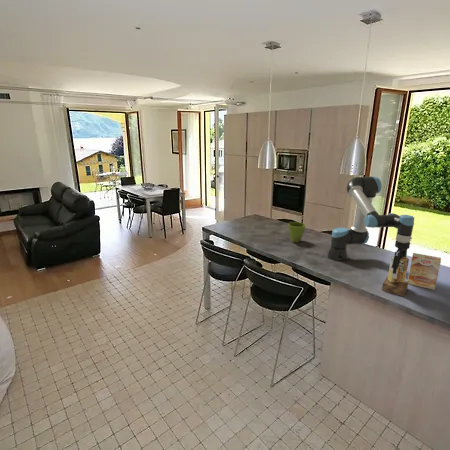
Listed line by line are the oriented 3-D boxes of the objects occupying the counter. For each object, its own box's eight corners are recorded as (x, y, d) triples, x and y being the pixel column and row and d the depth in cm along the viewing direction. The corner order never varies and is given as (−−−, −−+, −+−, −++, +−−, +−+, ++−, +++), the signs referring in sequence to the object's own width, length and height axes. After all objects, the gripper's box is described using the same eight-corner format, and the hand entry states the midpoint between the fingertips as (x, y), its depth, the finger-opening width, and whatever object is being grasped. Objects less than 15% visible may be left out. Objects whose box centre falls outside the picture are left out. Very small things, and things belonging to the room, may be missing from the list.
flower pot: (302, 238, 282) (304, 222, 278) (305, 244, 268) (306, 226, 263) (286, 238, 284) (287, 221, 279) (288, 243, 269) (289, 226, 265)
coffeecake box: (407, 284, 196) (412, 255, 190) (407, 279, 201) (412, 252, 196) (434, 290, 188) (441, 261, 182) (434, 285, 193) (441, 257, 188)
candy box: (400, 279, 189) (404, 256, 185) (405, 282, 185) (409, 258, 181) (387, 279, 189) (390, 256, 185) (391, 282, 185) (395, 259, 180)
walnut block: (381, 290, 188) (382, 283, 186) (386, 283, 197) (387, 276, 195) (403, 296, 181) (405, 289, 179) (407, 289, 190) (408, 281, 188)
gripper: (403, 247, 170) (396, 283, 176) (416, 238, 184) (409, 272, 190) (389, 243, 175) (383, 279, 182) (402, 235, 189) (397, 268, 196)
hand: (396, 275), depth 186 cm, fingers closed on candy box, 9 cm apart
